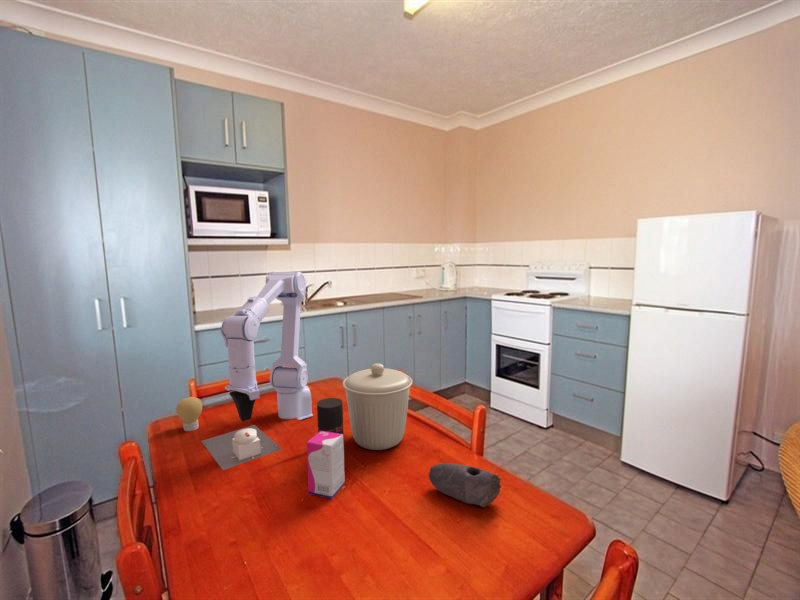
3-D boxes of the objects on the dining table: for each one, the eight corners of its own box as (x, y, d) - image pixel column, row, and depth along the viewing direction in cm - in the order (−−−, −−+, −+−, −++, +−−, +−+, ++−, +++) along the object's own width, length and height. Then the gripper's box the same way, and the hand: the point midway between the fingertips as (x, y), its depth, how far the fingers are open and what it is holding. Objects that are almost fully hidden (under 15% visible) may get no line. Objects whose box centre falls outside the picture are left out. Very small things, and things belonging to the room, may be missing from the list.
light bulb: (209, 427, 111) (206, 393, 110) (195, 438, 105) (192, 402, 104) (188, 426, 112) (185, 393, 110) (173, 437, 105) (170, 402, 104)
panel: (254, 428, 110) (253, 414, 109) (282, 453, 97) (281, 436, 96) (201, 445, 101) (200, 429, 100) (223, 475, 87) (222, 456, 87)
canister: (401, 421, 114) (401, 352, 111) (421, 452, 97) (421, 371, 94) (340, 429, 109) (338, 357, 106) (349, 463, 92) (347, 378, 89)
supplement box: (345, 483, 84) (344, 433, 83) (332, 499, 79) (330, 446, 77) (322, 478, 86) (320, 429, 85) (307, 494, 80) (305, 442, 79)
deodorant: (349, 459, 94) (347, 400, 92) (334, 472, 88) (333, 409, 86) (328, 454, 96) (326, 396, 94) (313, 466, 91) (311, 405, 89)
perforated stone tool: (423, 492, 81) (423, 461, 80) (434, 479, 85) (434, 450, 84) (492, 518, 73) (493, 484, 72) (501, 503, 77) (502, 470, 76)
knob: (233, 452, 95) (231, 431, 94) (253, 445, 98) (252, 425, 97) (239, 460, 91) (238, 439, 91) (260, 453, 94) (259, 432, 94)
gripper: (215, 362, 95) (219, 414, 97) (235, 376, 84) (239, 435, 86) (244, 356, 99) (247, 407, 101) (267, 369, 89) (270, 425, 90)
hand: (245, 419), depth 94 cm, fingers closed
